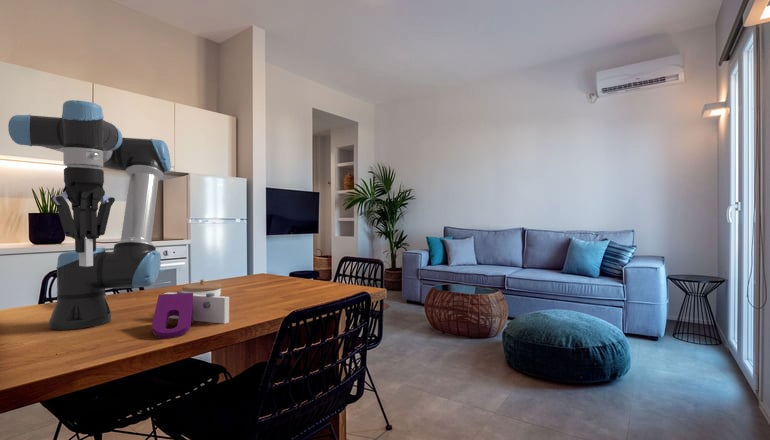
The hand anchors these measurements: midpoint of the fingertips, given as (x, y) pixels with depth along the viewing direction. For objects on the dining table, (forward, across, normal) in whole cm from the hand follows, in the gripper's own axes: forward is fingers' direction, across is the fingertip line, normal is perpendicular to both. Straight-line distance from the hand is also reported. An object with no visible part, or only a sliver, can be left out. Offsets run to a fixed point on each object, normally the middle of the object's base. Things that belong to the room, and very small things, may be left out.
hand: (86, 265), depth 92 cm
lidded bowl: (+23, +43, +9) cm, 50 cm away
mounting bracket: (+22, +22, -3) cm, 31 cm away
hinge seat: (+22, +32, +1) cm, 39 cm away
